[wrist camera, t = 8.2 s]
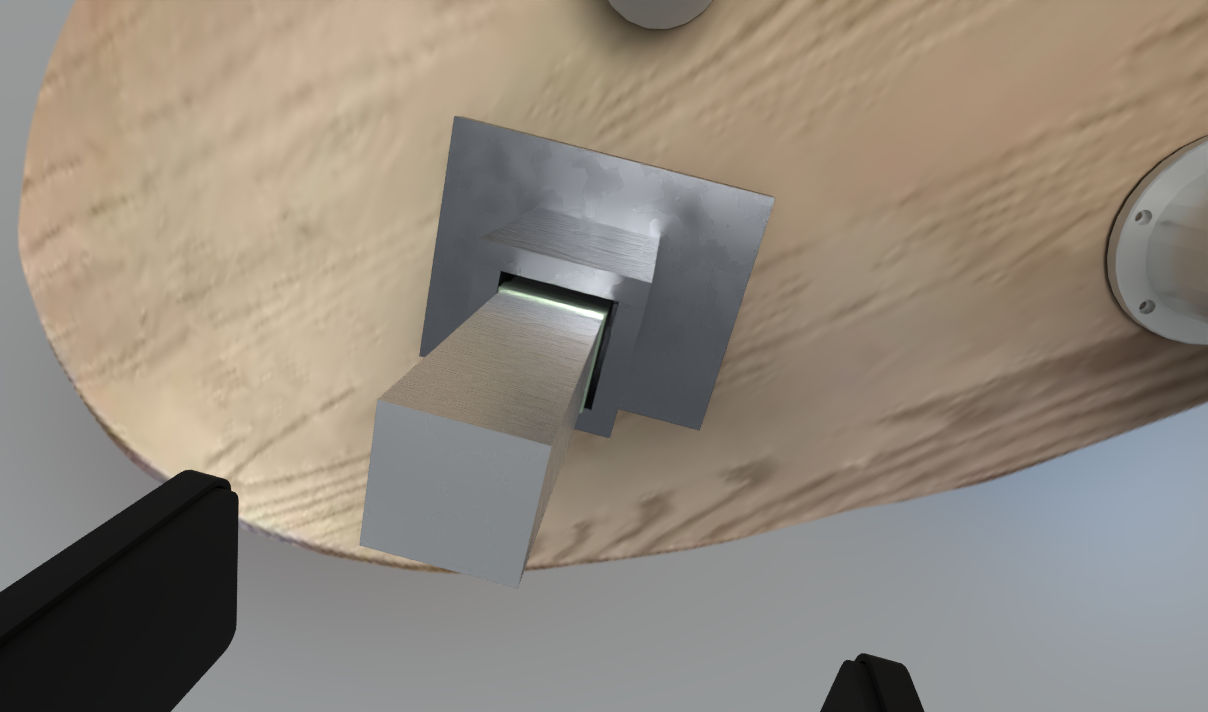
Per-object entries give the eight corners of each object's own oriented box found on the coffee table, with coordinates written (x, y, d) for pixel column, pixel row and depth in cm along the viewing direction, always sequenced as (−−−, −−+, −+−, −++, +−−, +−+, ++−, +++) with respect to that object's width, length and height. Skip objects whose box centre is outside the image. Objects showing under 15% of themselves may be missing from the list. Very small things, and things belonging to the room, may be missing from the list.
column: (620, 278, 35) (556, 443, 16) (600, 359, 36) (520, 592, 18) (534, 255, 35) (374, 395, 16) (518, 337, 36) (355, 547, 18)
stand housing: (771, 196, 40) (817, 227, 27) (698, 421, 45) (707, 538, 32) (462, 116, 40) (357, 109, 27) (427, 348, 46) (326, 436, 33)
